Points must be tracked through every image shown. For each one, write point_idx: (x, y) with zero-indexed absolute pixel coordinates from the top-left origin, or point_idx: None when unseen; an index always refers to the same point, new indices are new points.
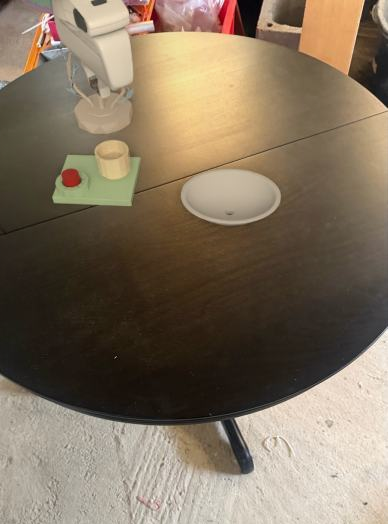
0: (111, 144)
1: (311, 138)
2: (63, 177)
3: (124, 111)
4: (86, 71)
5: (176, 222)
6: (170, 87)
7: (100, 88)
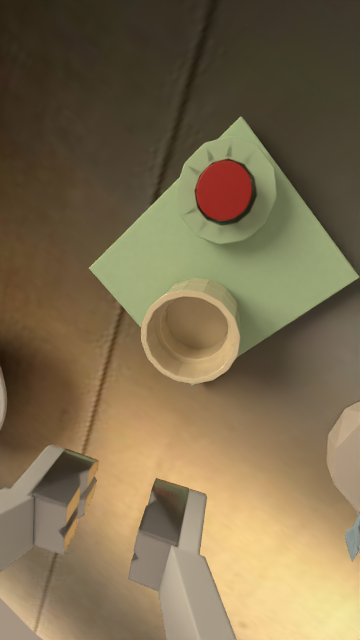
0: (224, 361)
1: (48, 562)
2: (224, 163)
3: (353, 486)
4: (182, 596)
5: (8, 295)
6: (346, 589)
7: (3, 490)
